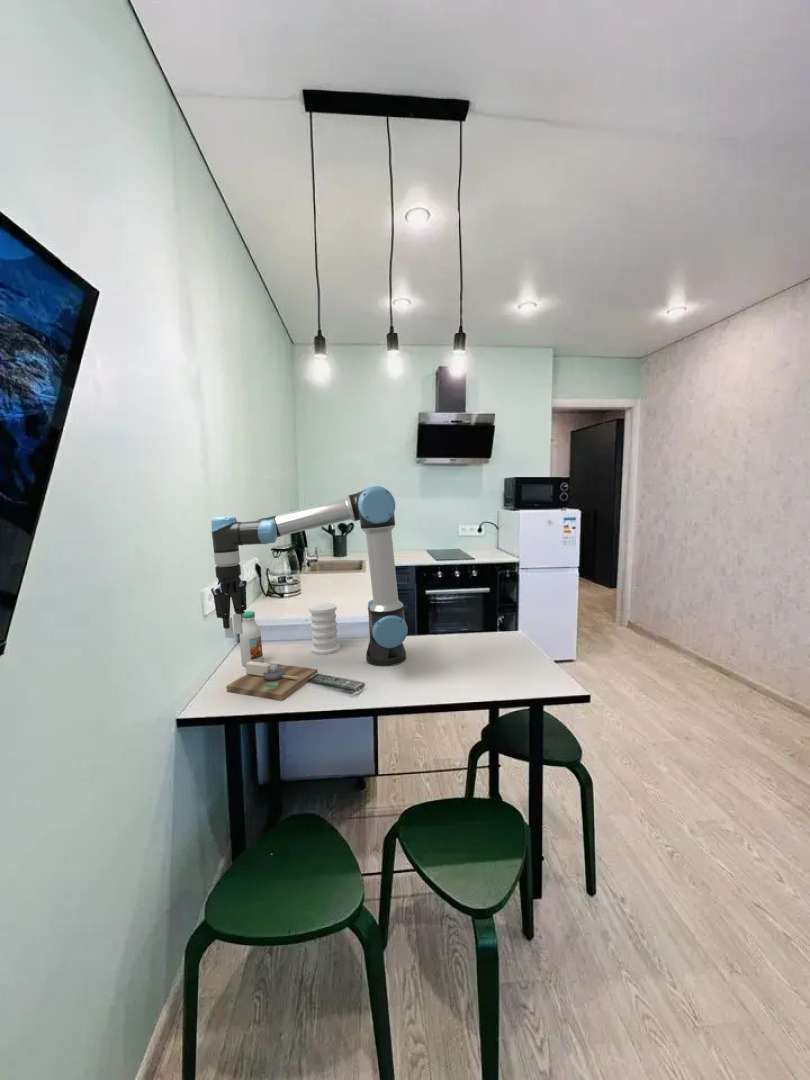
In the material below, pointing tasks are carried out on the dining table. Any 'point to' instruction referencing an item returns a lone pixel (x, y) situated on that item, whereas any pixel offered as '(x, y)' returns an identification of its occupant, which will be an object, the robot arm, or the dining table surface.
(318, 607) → the decorative container
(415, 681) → the dining table surface
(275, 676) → the tuning dial
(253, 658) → the milk bottle
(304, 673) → the board
